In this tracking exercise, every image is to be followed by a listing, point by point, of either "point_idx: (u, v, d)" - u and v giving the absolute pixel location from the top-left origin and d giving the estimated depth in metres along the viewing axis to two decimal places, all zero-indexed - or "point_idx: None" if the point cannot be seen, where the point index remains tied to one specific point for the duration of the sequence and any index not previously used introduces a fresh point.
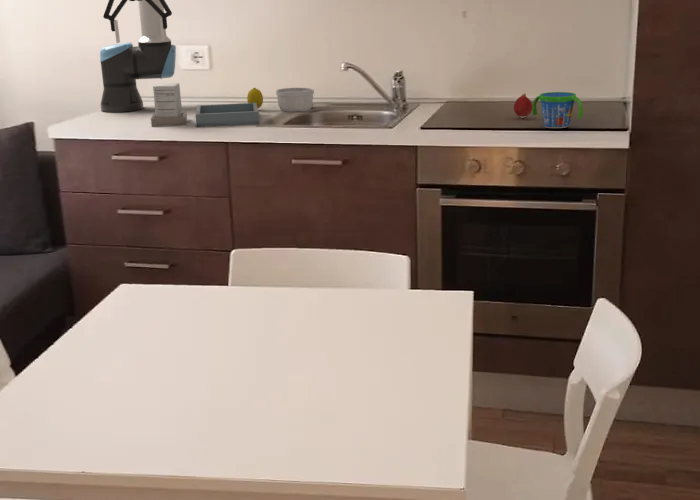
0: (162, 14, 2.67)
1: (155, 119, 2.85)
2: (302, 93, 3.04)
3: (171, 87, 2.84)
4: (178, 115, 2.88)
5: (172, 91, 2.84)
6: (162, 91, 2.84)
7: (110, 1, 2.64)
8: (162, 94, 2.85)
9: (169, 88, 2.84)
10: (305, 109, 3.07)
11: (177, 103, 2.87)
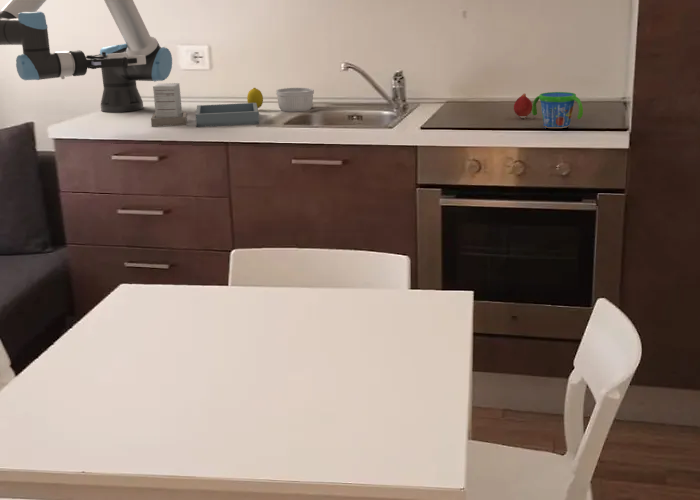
0: (123, 65, 2.69)
1: (155, 119, 2.85)
2: (302, 93, 3.04)
3: (171, 87, 2.84)
4: (178, 115, 2.88)
5: (172, 91, 2.84)
6: (162, 91, 2.84)
7: None
8: (162, 94, 2.85)
9: (169, 88, 2.84)
10: (305, 109, 3.07)
11: (177, 103, 2.87)
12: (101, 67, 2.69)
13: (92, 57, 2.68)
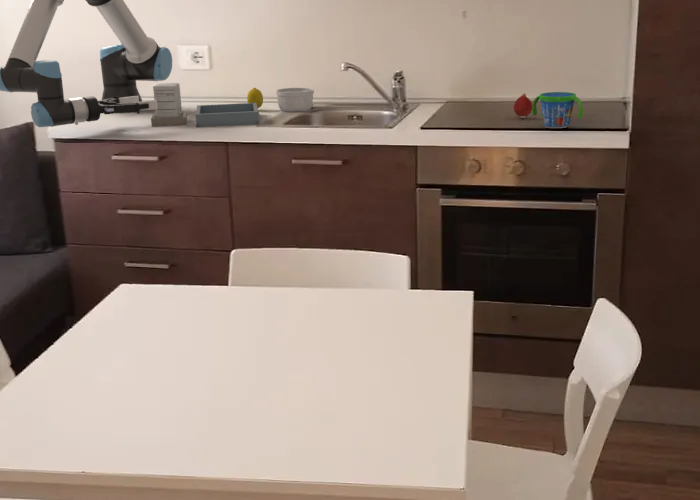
0: None
1: (155, 119, 2.85)
2: (302, 93, 3.04)
3: (171, 87, 2.84)
4: (178, 115, 2.88)
5: (172, 91, 2.84)
6: (162, 91, 2.84)
7: None
8: (162, 94, 2.85)
9: (169, 88, 2.84)
10: (305, 109, 3.07)
11: (177, 103, 2.87)
12: None
13: (105, 103, 2.74)
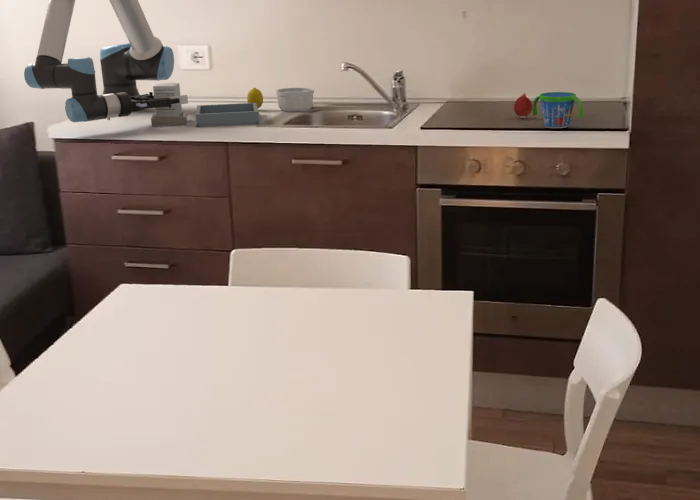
0: None
1: (155, 119, 2.85)
2: (302, 93, 3.04)
3: (171, 87, 2.84)
4: (178, 115, 2.88)
5: (172, 90, 2.84)
6: (162, 91, 2.84)
7: None
8: (162, 94, 2.85)
9: (169, 88, 2.84)
10: (305, 109, 3.07)
11: None
12: None
13: (137, 98, 2.80)
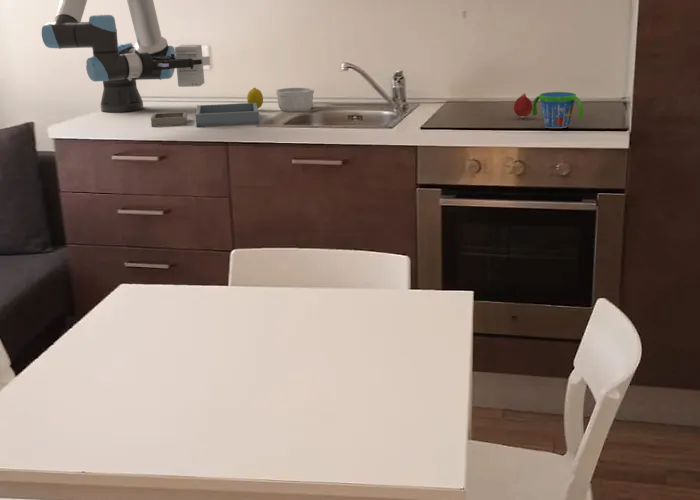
0: None
1: (155, 119, 2.85)
2: (302, 93, 3.04)
3: (193, 48, 2.79)
4: (200, 77, 2.83)
5: (194, 51, 2.80)
6: (184, 52, 2.80)
7: None
8: (184, 55, 2.80)
9: (191, 49, 2.79)
10: (305, 109, 3.07)
11: None
12: None
13: (158, 59, 2.76)
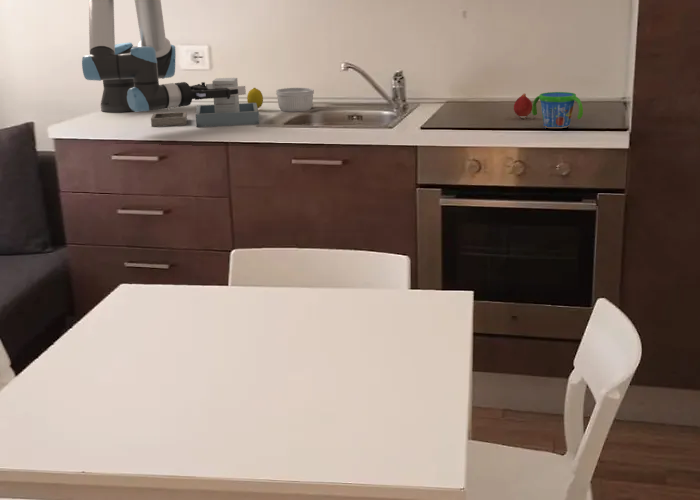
0: None
1: (155, 119, 2.85)
2: (302, 93, 3.04)
3: (230, 82, 2.85)
4: (236, 110, 2.89)
5: (231, 85, 2.85)
6: (222, 86, 2.85)
7: None
8: (221, 88, 2.85)
9: (228, 83, 2.85)
10: (305, 109, 3.07)
11: (236, 98, 2.88)
12: None
13: (196, 88, 2.81)
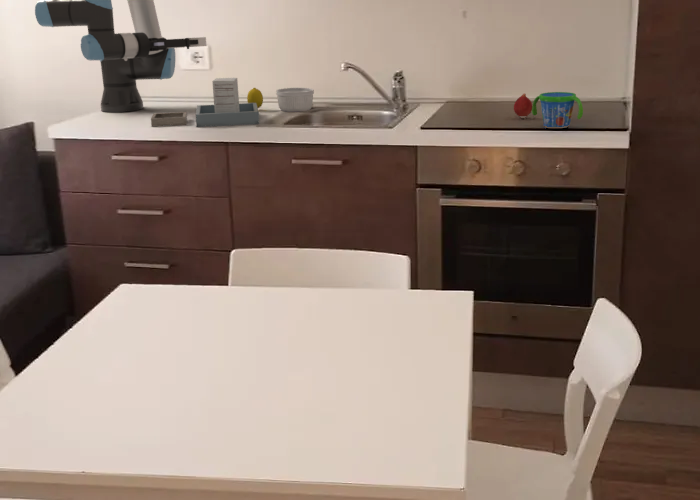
0: None
1: (155, 119, 2.85)
2: (302, 93, 3.04)
3: (230, 82, 2.85)
4: (236, 110, 2.89)
5: (232, 85, 2.85)
6: (222, 86, 2.85)
7: None
8: (221, 88, 2.85)
9: (228, 83, 2.85)
10: (305, 109, 3.07)
11: (236, 98, 2.88)
12: (163, 49, 2.69)
13: (154, 39, 2.69)
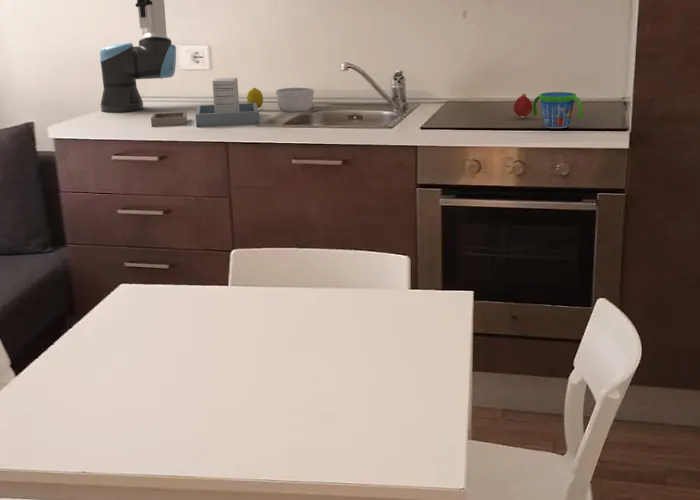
0: (149, 1, 2.90)
1: (155, 119, 2.85)
2: (302, 93, 3.04)
3: (230, 82, 2.85)
4: (236, 110, 2.89)
5: (231, 85, 2.85)
6: (222, 86, 2.85)
7: None
8: (221, 88, 2.85)
9: (228, 83, 2.85)
10: (305, 109, 3.07)
11: (236, 98, 2.88)
12: None
13: None
